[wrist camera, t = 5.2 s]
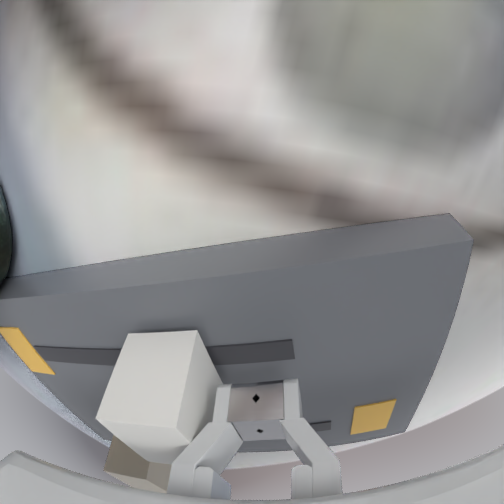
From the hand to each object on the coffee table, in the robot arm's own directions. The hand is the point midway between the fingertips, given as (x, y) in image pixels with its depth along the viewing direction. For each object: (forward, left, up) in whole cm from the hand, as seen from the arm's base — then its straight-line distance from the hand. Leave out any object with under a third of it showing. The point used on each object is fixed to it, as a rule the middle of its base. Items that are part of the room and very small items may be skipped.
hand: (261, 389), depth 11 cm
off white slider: (+3, 0, -2) cm, 4 cm away
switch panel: (+4, +4, -4) cm, 6 cm away
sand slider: (+9, +8, -2) cm, 12 cm away
